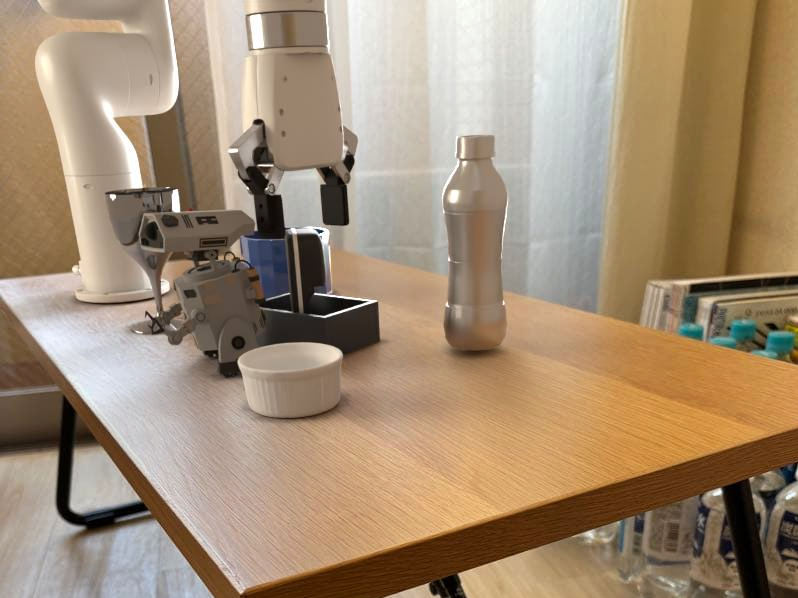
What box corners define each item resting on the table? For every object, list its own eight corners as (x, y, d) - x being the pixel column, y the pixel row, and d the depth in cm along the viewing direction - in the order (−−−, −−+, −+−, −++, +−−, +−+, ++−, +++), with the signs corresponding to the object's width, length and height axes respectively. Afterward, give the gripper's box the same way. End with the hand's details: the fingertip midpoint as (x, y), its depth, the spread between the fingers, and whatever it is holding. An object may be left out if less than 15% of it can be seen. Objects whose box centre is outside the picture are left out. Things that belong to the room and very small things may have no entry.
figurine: (147, 364, 91) (121, 208, 84) (257, 349, 95) (241, 199, 88) (160, 388, 84) (132, 219, 77) (280, 370, 87) (263, 208, 80)
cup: (228, 300, 118) (220, 236, 114) (287, 284, 126) (282, 225, 123) (292, 308, 112) (286, 242, 108) (350, 291, 120) (346, 229, 116)
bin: (327, 360, 90) (324, 317, 88) (245, 346, 96) (240, 305, 94) (380, 341, 96) (378, 300, 94) (299, 328, 102) (296, 290, 100)
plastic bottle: (513, 342, 94) (517, 133, 85) (497, 359, 88) (500, 137, 79) (454, 339, 96) (452, 134, 87) (435, 356, 90) (431, 138, 81)
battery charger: (332, 347, 93) (324, 233, 88) (296, 350, 93) (285, 235, 87) (327, 332, 99) (319, 224, 94) (293, 334, 99) (283, 225, 94)
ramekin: (356, 413, 75) (353, 363, 73) (250, 427, 73) (244, 375, 71) (333, 384, 82) (330, 337, 80) (237, 396, 80) (231, 348, 78)
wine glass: (210, 320, 107) (192, 187, 101) (168, 336, 101) (146, 195, 94) (157, 316, 111) (136, 186, 104) (113, 331, 104) (88, 194, 97)
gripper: (318, 42, 91) (332, 219, 99) (190, 40, 79) (216, 241, 87) (376, 37, 87) (386, 221, 95) (250, 33, 75) (272, 245, 82)
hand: (305, 231), depth 91 cm, fingers open, 9 cm apart
